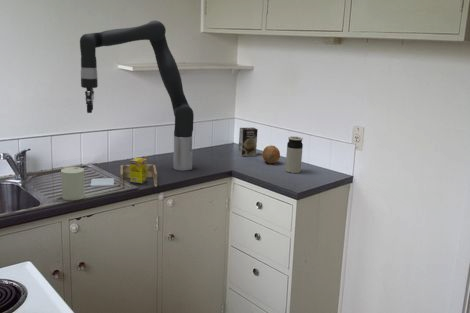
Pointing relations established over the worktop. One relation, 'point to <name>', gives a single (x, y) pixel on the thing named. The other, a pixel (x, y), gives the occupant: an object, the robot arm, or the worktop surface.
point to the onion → (271, 154)
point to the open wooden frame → (150, 173)
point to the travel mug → (294, 154)
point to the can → (72, 183)
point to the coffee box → (247, 142)
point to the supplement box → (138, 170)
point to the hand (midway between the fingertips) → (90, 111)
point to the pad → (102, 182)
